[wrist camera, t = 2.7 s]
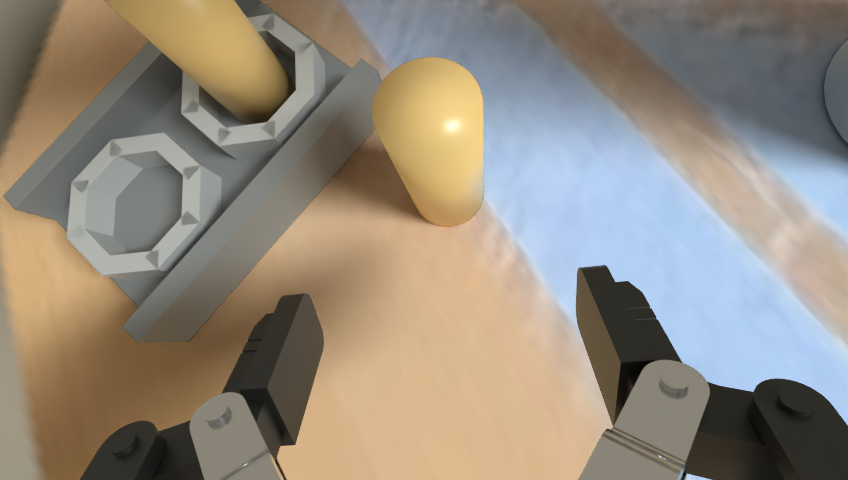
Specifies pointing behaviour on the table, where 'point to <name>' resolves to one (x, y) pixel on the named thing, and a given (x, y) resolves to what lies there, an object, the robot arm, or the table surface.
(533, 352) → the table surface
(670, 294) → the table surface
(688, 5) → the table surface
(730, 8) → the table surface
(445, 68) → the domed yellow post
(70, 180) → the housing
